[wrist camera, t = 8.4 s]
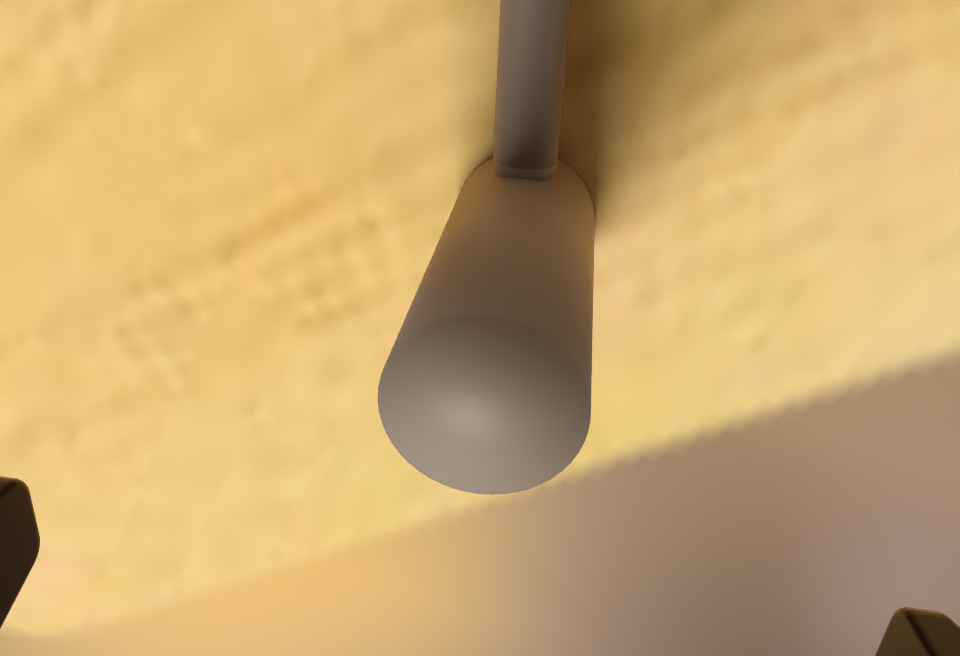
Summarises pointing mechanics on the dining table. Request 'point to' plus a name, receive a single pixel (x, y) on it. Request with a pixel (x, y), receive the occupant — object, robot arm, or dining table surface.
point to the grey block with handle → (504, 293)
